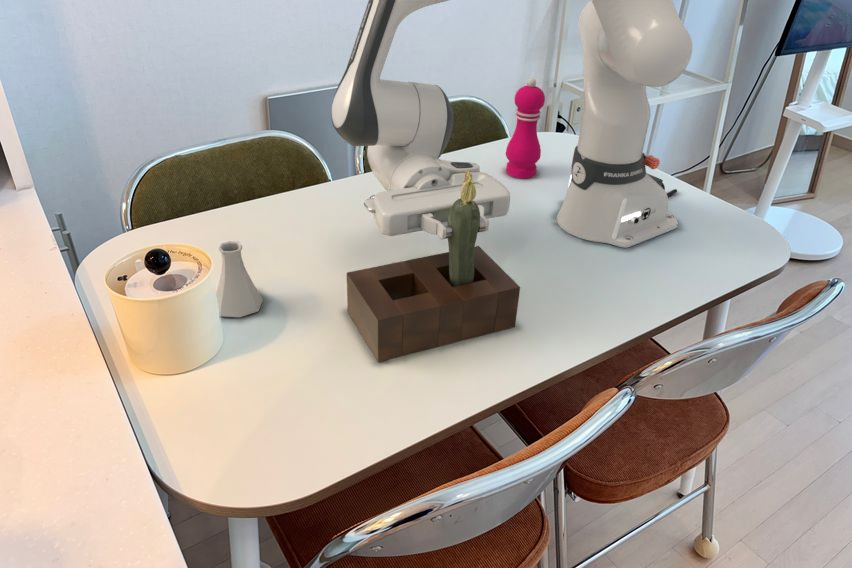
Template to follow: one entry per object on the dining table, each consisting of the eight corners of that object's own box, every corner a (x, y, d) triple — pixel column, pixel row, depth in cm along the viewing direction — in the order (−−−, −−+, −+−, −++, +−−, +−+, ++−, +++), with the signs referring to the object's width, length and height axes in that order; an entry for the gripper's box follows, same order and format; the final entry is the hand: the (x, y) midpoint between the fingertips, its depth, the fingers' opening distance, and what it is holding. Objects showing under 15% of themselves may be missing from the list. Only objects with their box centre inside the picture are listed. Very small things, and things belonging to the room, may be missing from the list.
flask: (213, 322, 99) (204, 262, 94) (212, 294, 105) (202, 236, 100) (265, 315, 101) (259, 256, 96) (260, 288, 107) (254, 231, 102)
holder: (475, 283, 110) (478, 245, 106) (515, 327, 101) (520, 287, 97) (347, 312, 103) (346, 272, 99) (378, 362, 93) (377, 320, 89)
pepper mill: (520, 163, 152) (531, 71, 141) (545, 174, 147) (558, 80, 136) (496, 171, 148) (506, 76, 137) (521, 182, 143) (533, 86, 132)
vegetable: (469, 310, 100) (481, 182, 89) (440, 305, 101) (448, 178, 90) (474, 293, 104) (486, 169, 93) (445, 289, 104) (454, 165, 93)
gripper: (359, 179, 100) (396, 222, 89) (484, 161, 107) (532, 198, 97) (359, 218, 103) (395, 264, 93) (481, 198, 111) (526, 238, 100)
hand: (466, 230), depth 95 cm, fingers closed on vegetable, 4 cm apart
